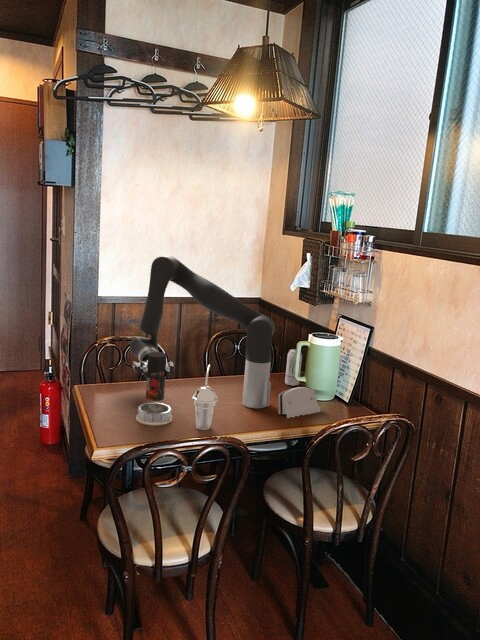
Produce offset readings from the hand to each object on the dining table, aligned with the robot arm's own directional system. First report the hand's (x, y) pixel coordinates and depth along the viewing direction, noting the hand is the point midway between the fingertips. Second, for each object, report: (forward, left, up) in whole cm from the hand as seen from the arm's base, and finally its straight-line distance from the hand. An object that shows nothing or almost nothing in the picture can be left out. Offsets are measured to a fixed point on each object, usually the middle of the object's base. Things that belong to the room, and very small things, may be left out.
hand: (157, 374), depth 176 cm
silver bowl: (0, -2, -16) cm, 16 cm away
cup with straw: (-15, +6, -17) cm, 23 cm away
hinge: (-53, -4, -17) cm, 56 cm away
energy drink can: (-63, -33, -17) cm, 73 cm away
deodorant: (0, -3, -9) cm, 10 cm away
